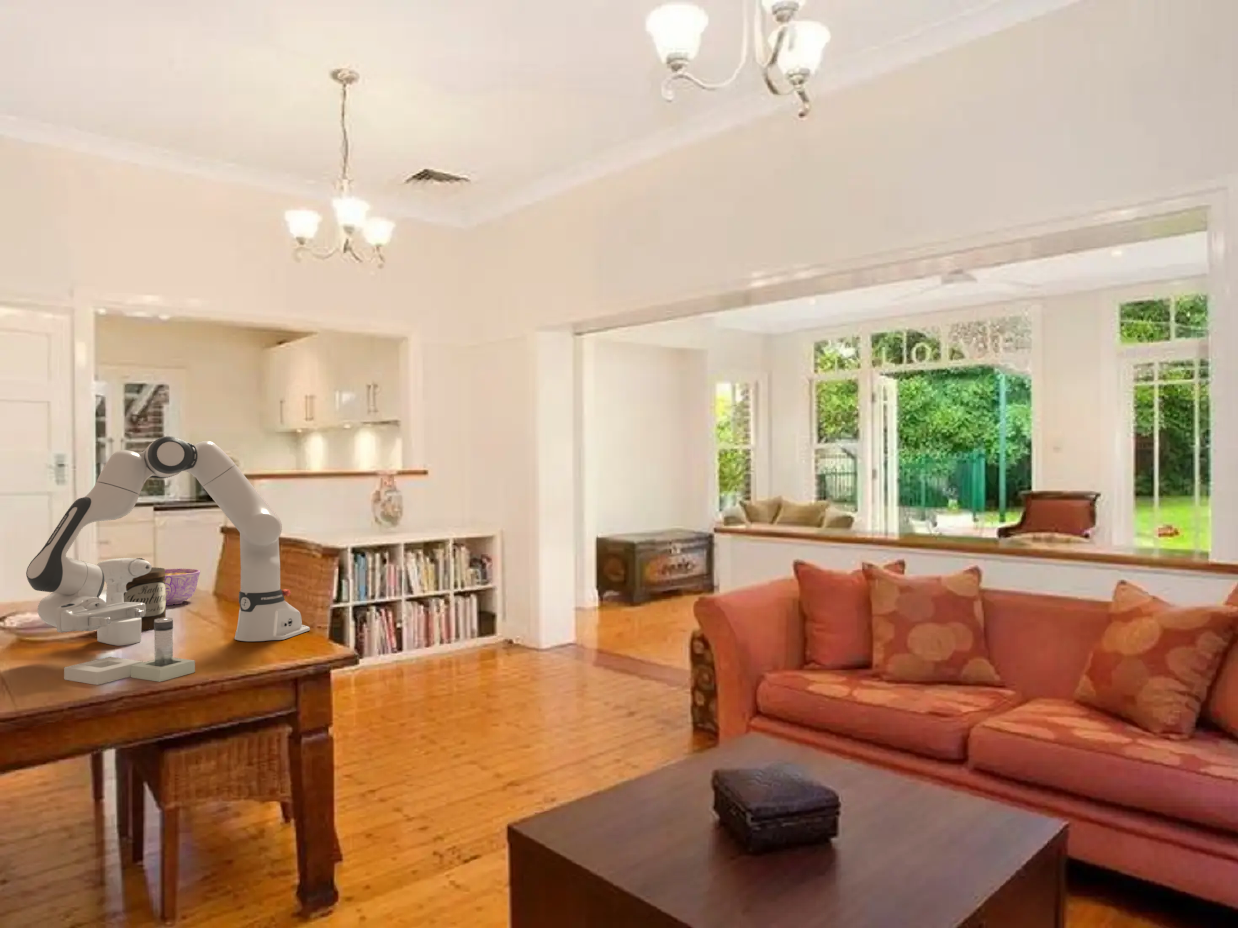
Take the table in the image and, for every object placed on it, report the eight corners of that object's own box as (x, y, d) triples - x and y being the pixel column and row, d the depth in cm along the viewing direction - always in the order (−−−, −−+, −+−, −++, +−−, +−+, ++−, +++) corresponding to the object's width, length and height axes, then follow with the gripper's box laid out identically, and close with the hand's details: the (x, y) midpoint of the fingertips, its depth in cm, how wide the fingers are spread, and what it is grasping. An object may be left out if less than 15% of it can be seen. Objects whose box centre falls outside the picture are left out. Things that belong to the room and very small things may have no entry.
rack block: (166, 668, 219) (166, 656, 219) (194, 672, 215) (194, 660, 215) (131, 677, 210) (131, 665, 210) (160, 681, 206) (159, 669, 206)
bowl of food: (157, 610, 300) (157, 577, 300) (128, 604, 311) (128, 572, 311) (211, 602, 317) (211, 571, 317) (181, 596, 328) (181, 567, 328)
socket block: (110, 668, 219) (110, 656, 219) (143, 673, 214) (143, 661, 214) (64, 679, 208) (64, 667, 208) (97, 684, 203) (97, 672, 203)
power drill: (132, 650, 238) (132, 561, 238) (87, 640, 251) (87, 556, 251) (162, 644, 246) (162, 558, 245) (117, 635, 258) (117, 553, 258)
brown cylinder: (129, 633, 261) (129, 562, 261) (102, 628, 269) (102, 558, 269) (175, 625, 274) (175, 557, 274) (148, 620, 282) (148, 554, 282)
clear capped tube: (165, 671, 216) (164, 616, 216) (177, 673, 214) (176, 618, 214) (150, 675, 212) (150, 619, 212) (162, 677, 210) (162, 621, 210)
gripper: (125, 617, 233) (161, 621, 228) (50, 633, 214) (87, 638, 209) (125, 594, 233) (160, 598, 227) (50, 608, 214) (87, 612, 209)
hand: (125, 617), depth 218 cm, fingers open, 8 cm apart
